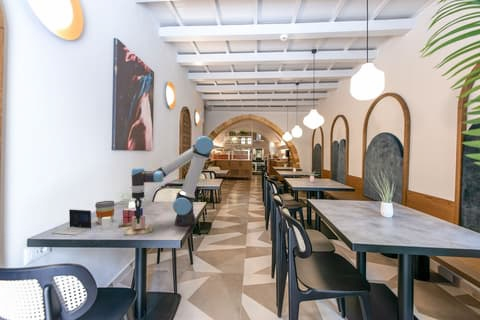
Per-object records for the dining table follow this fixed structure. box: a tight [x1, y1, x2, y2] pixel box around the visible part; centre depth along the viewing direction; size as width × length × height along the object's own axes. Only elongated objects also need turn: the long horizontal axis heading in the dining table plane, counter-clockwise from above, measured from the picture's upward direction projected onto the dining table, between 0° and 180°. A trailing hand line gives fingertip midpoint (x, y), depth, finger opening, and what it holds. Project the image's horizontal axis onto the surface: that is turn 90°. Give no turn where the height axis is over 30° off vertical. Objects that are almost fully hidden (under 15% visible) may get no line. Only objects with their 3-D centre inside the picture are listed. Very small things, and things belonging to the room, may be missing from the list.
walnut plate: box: [118, 222, 132, 229], centre depth 169 cm, size 8×5×2 cm, turn 112°
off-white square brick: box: [101, 217, 112, 230], centre depth 165 cm, size 5×5×7 cm
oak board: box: [123, 224, 153, 237], centre depth 157 cm, size 16×14×1 cm
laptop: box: [52, 208, 92, 236], centre depth 158 cm, size 18×12×13 cm
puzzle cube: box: [122, 206, 144, 223], centre depth 178 cm, size 10×10×10 cm
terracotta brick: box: [131, 215, 146, 229], centre depth 157 cm, size 8×5×7 cm, turn 111°
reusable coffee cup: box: [94, 200, 116, 225], centre depth 178 cm, size 13×13×15 cm
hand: (138, 226), depth 157 cm, fingers closed on terracotta brick, 5 cm apart
